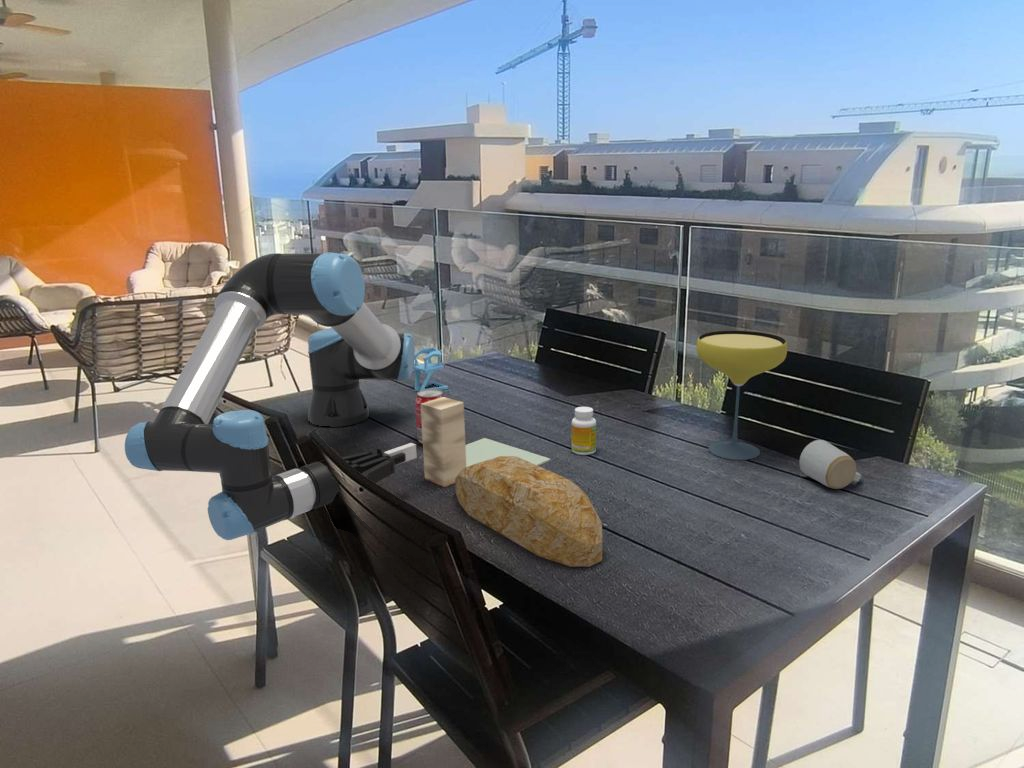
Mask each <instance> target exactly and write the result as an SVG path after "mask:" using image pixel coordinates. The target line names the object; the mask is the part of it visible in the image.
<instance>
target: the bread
mask: <svg viewBox="0 0 1024 768" xmlns="http://www.w3.org/2000/svg"><path fill="white" fill-rule="evenodd" d="M454 484H455V494H456V495H455V496H456V499H457V501H458V504H459V505H460V506H461V508H463V510H464V511H465V512H466V513H467V515H468V516H469V517H471V518H473V519H475V520H476V521H478V522H479V523H481V524H483V525H485V526H486V527H488V528H490V529H492V530H493V531H495V532H497V533H498V534H500V535H502V536H503V537H505V538H507V539H509V540H510V541H512V542H514V543H516V544H517V545H518V546H520V547H522V548H524V549H526V550H527V551H528V552H531V553H533V554H534V555H536V556H537V557H541V558H543V559H547V560H548V561H552V562H555V563H559V564H561V565H564V566H567V567H590V568H591V566H593V565H594V566H595V565H596V564H598V563H600V562H602V561H603V523H602V521H601V518H600V516H599V515H598V513H597V511H596V509H595V507H594V506H593V504H592V502H591V500H590V498H589V496H588V495H587V494H586V493H585V491H584V490H582V489H581V488H580V487H579V486H578V485H577V484H576V483H575V482H573V481H572V480H571V479H569V478H567V477H564V476H562V475H561V474H557V473H556V472H553V471H551V470H549V469H546V468H544V467H541V465H539V466H537V465H535V464H533V463H530V462H528V461H526V460H524V459H521V458H519V457H517V456H499V457H496V458H493V459H489V460H486V461H483V462H480V463H477V464H474V465H471V466H469V467H466V468H464V469H462V470H461V471H460V473H459V474H458V475H457V477H456V478H455V483H454Z"/></svg>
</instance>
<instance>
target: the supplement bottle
mask: <svg viewBox="0 0 1024 768" xmlns="http://www.w3.org/2000/svg"><path fill="white" fill-rule="evenodd" d="M596 451H597V420H596V419H595V418H594V409H593V408H592V407H590V406H578V407H575V408H574V417H573V418H572V420H571V452H572V453H573V454H576V455H579V456H580V455H581V456H588V455H594V453H596Z"/></svg>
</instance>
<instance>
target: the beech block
mask: <svg viewBox="0 0 1024 768" xmlns="http://www.w3.org/2000/svg"><path fill="white" fill-rule="evenodd" d="M421 421H422V438H423V444H422V450H423V451H422V452H423V468H424V472H423V473H424V479H425V480H427V481H428V482H431V483H434V484H436V485H438V486H441V487H444V488H445V487H448V486H450V485H453V484H456V483H455V478H456V477H457V475H458V474H459V473H460V471H461V470H462V469H464V468H466V446H465V445H466V430H465V429H466V428H465V427H466V425H465V423H466V422H465V403H464V401H459V400H456V399H453V398H449V397H445V396H444V397H441V398H438V399H435V400H431V401H428V402H425V403H422V404H421Z"/></svg>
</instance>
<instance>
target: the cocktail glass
mask: <svg viewBox="0 0 1024 768" xmlns="http://www.w3.org/2000/svg"><path fill="white" fill-rule="evenodd" d="M696 354H697V356H698V358H699V359H700V360H701V361H702V362H703V363H704V364H706V365H707V366H709V368H710V367H711V368H712V369H714V370H715V371H718V372H720V373H722V374H724V375H725V376H726V377H728V378H729V379H730V381H731V383H732V384H733V386H735V387H736V394H735V395H736V396H735V408H734V410H735V411H734V421H733V431H732V436H731V440H729V441H728V440H724V441H717V442H716V441H715V442H713V443H710V444H709V445H708V451H710V452H711V453H710V452H709V453H710V454H712V455H713V454H714V455H713V456H715V455H716V457H717V456H719V457H718V458H720V457H721V458H720V459H724V458H725V460H730V461H731V460H732V461H748V459H750V460H753V458H754V459H755V458H758V457H759V456H760V454H761V451H760V448H758V447H756V446H755V445H752V444H750V443H745V442H740V441H739V438H738V421H739V406H740V405H739V404H740V403H739V402H740V393H741V392H740V390H741V387H742V386H744V385H745V384H746V383H747V382H748V381H749V380H750V379H751V378H753V377H755V376H757V375H760V374H762V373H766V372H769V371H770V370H773V369H774V368H777V367H778V366H780V365H781V364H782V363H784V361H785V360H786V358H787V354H788V341H787V339H785V338H783V337H782V336H779V335H776V334H772V333H768V332H767V333H766V332H761V331H752V330H751V331H750V330H718V331H711V332H705V333H703V334H700V335H699V336H698V338H697V340H696ZM757 456H758V457H757Z"/></svg>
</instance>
